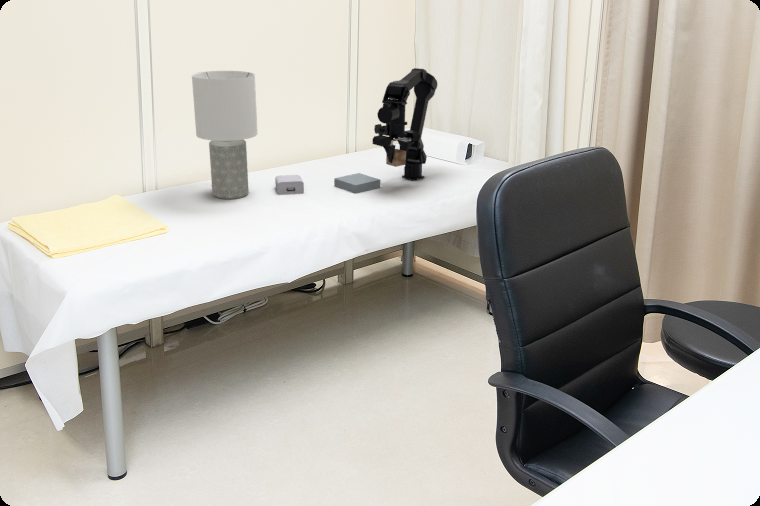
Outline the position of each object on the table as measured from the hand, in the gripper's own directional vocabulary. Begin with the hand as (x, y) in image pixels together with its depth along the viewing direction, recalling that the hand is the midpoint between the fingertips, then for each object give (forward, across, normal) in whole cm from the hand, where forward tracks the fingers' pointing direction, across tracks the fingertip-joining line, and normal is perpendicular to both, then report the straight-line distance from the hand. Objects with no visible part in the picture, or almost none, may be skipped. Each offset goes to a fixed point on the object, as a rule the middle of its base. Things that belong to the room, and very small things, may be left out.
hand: (396, 161), depth 269 cm
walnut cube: (+1, 0, 0) cm, 1 cm away
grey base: (+10, +10, -10) cm, 17 cm away
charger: (+10, +30, -25) cm, 40 cm away
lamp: (+10, +51, -31) cm, 61 cm away
